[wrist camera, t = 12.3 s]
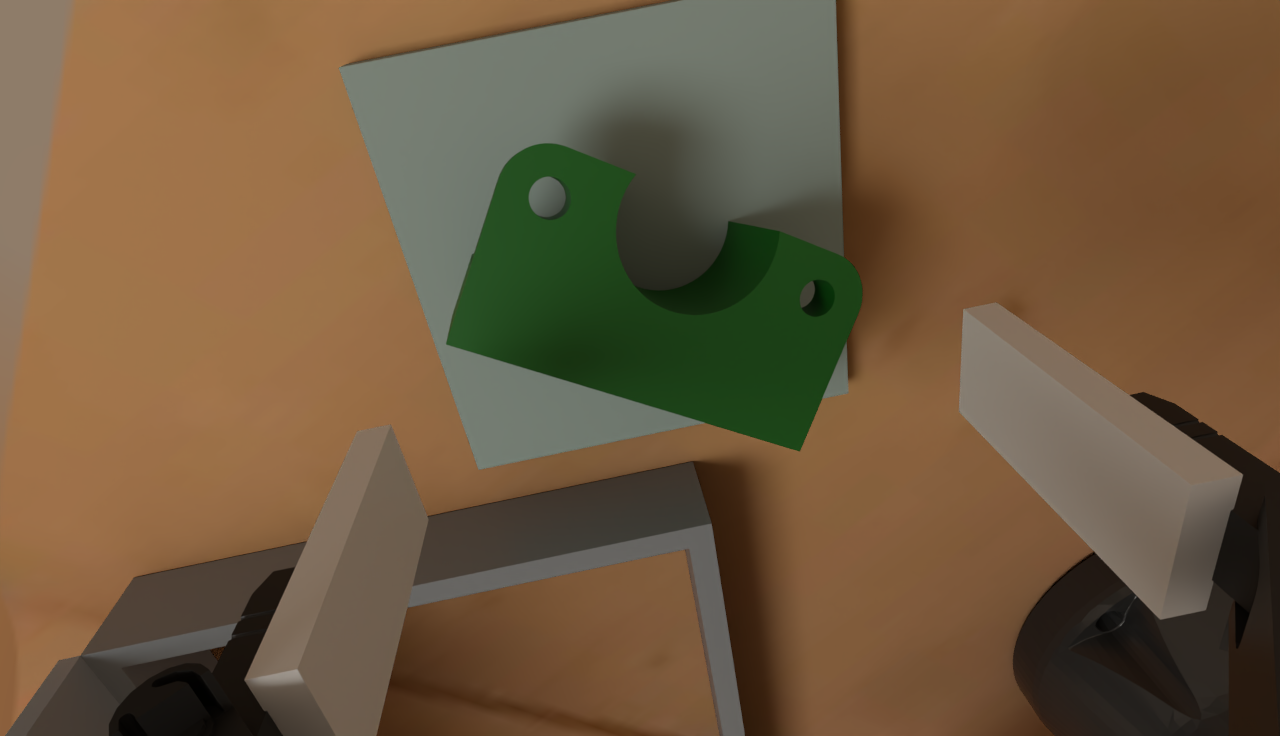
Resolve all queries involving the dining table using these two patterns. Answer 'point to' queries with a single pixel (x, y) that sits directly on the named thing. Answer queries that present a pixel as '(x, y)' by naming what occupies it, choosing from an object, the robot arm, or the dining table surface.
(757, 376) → the clamp
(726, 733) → the case
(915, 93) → the dining table surface
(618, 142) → the mat
